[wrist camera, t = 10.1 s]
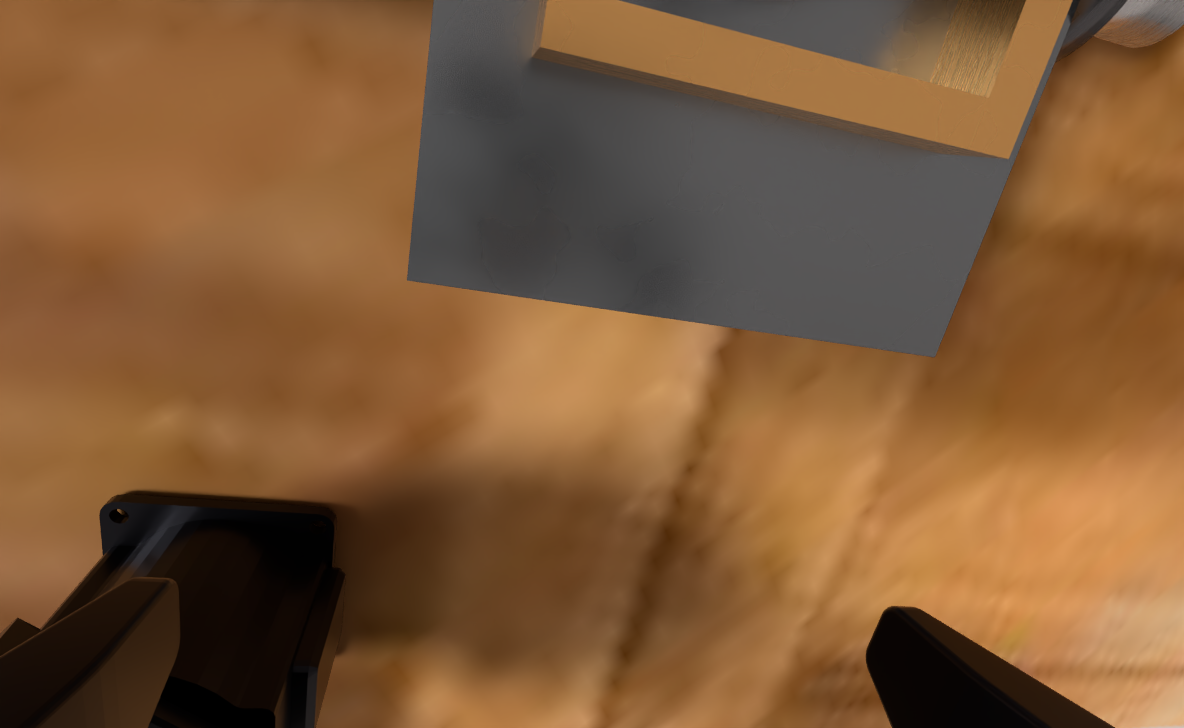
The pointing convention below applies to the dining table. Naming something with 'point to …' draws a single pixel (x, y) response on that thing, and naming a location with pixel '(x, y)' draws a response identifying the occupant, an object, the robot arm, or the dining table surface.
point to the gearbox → (737, 152)
